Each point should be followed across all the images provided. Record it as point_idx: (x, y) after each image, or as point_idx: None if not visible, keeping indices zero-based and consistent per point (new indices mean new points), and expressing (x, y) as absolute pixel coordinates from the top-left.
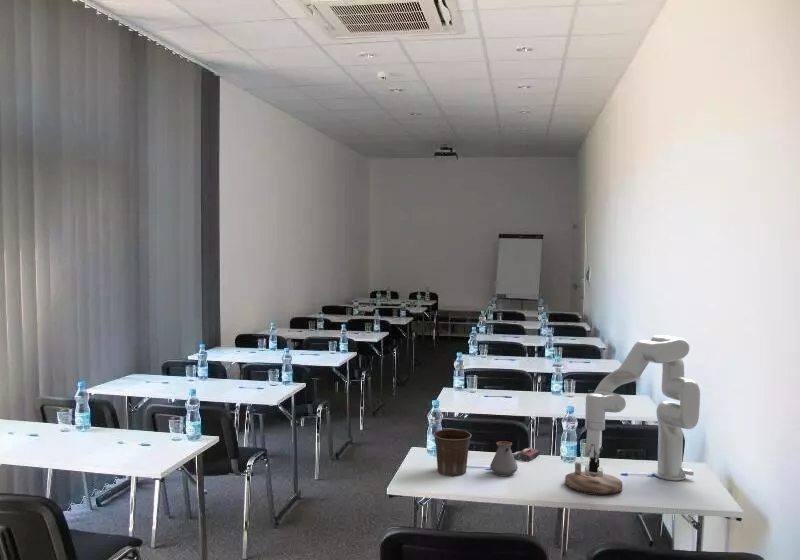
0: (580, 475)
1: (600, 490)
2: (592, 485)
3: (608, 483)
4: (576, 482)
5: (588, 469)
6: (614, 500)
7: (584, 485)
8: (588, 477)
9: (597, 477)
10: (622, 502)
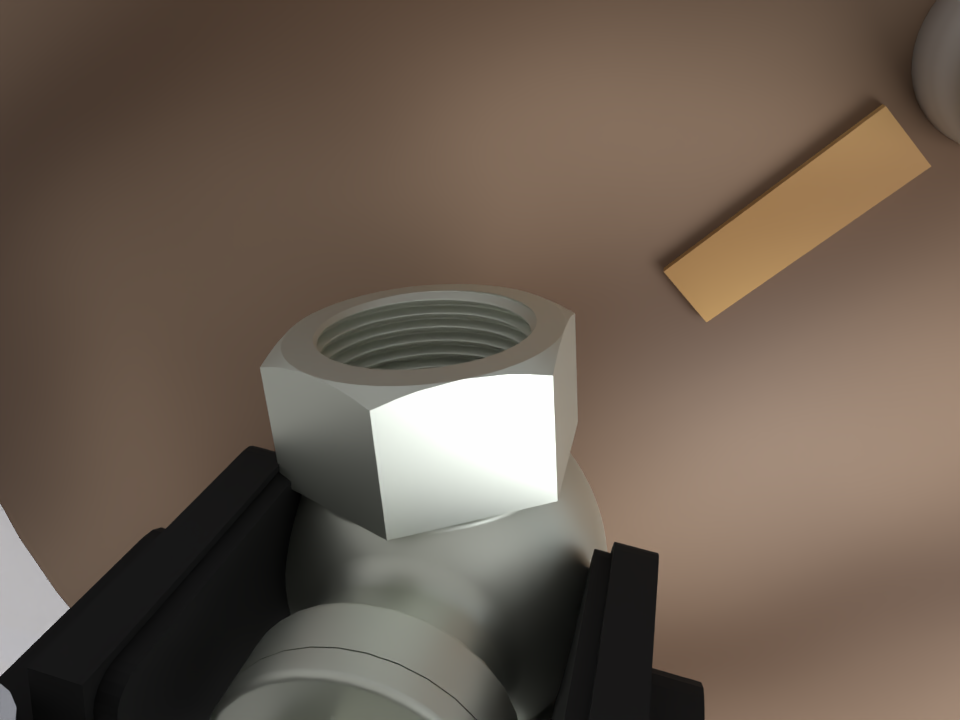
0: (816, 134)
1: (2, 475)
2: (134, 373)
3: None
4: (158, 17)
5: (290, 451)
6: (20, 580)
7: (49, 209)
8: (673, 342)
9: (728, 543)
10: (5, 653)
